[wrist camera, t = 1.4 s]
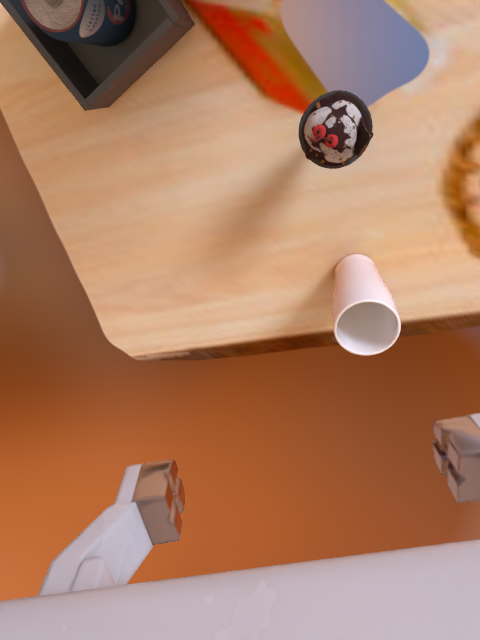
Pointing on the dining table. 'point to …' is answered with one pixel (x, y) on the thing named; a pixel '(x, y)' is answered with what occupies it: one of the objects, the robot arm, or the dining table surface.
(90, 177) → the dining table surface
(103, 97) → the tub
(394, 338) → the white tall cylinder
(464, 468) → the robot arm
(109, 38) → the soda can
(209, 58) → the dining table surface
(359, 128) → the sundae
